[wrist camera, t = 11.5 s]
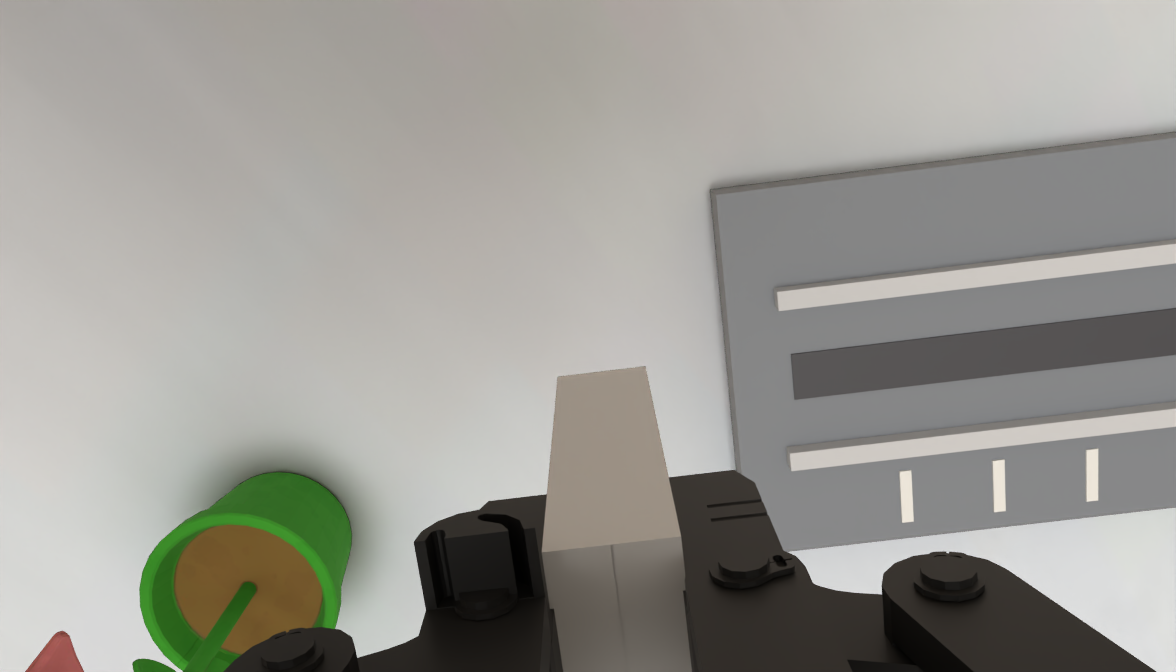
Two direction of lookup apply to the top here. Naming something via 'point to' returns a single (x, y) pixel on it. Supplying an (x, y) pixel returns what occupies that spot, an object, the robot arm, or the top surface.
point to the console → (954, 341)
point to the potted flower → (237, 576)
